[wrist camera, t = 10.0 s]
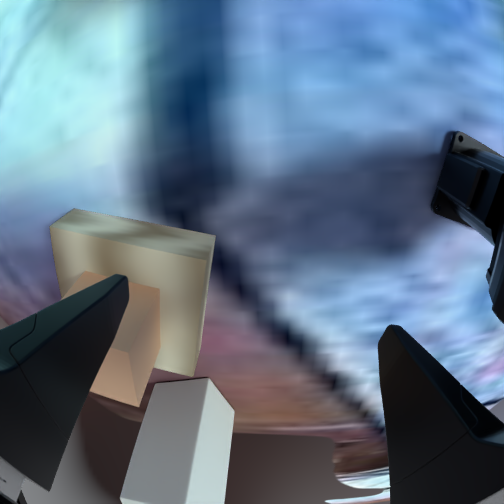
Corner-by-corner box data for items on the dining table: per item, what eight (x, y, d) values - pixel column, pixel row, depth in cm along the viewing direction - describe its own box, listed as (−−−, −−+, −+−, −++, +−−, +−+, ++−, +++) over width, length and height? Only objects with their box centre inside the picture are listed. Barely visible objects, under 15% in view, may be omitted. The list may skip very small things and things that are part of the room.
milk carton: (154, 382, 31) (110, 531, 14) (209, 376, 29) (178, 550, 12) (184, 413, 34) (156, 545, 17) (235, 409, 32) (218, 556, 16)
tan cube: (159, 288, 20) (128, 352, 14) (160, 347, 22) (138, 407, 17) (85, 270, 19) (42, 323, 14) (95, 329, 22) (65, 381, 17)
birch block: (216, 232, 22) (206, 260, 18) (201, 344, 28) (193, 376, 24) (77, 206, 21) (49, 226, 18) (90, 315, 27) (73, 341, 23)
